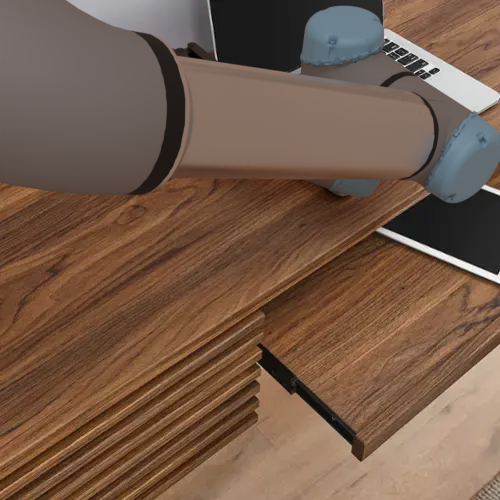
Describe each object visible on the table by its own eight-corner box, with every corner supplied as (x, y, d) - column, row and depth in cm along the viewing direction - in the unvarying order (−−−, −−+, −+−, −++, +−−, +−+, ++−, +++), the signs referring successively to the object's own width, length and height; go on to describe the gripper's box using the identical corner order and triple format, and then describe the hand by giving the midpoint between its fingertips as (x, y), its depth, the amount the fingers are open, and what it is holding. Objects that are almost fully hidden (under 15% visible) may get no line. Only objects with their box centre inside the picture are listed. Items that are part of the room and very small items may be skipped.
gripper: (194, 218, 80) (35, 156, 87) (298, 96, 95) (155, 52, 102) (191, 163, 75) (20, 102, 81) (301, 43, 90) (150, 0, 97)
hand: (95, 74), depth 92 cm, fingers open, 13 cm apart
